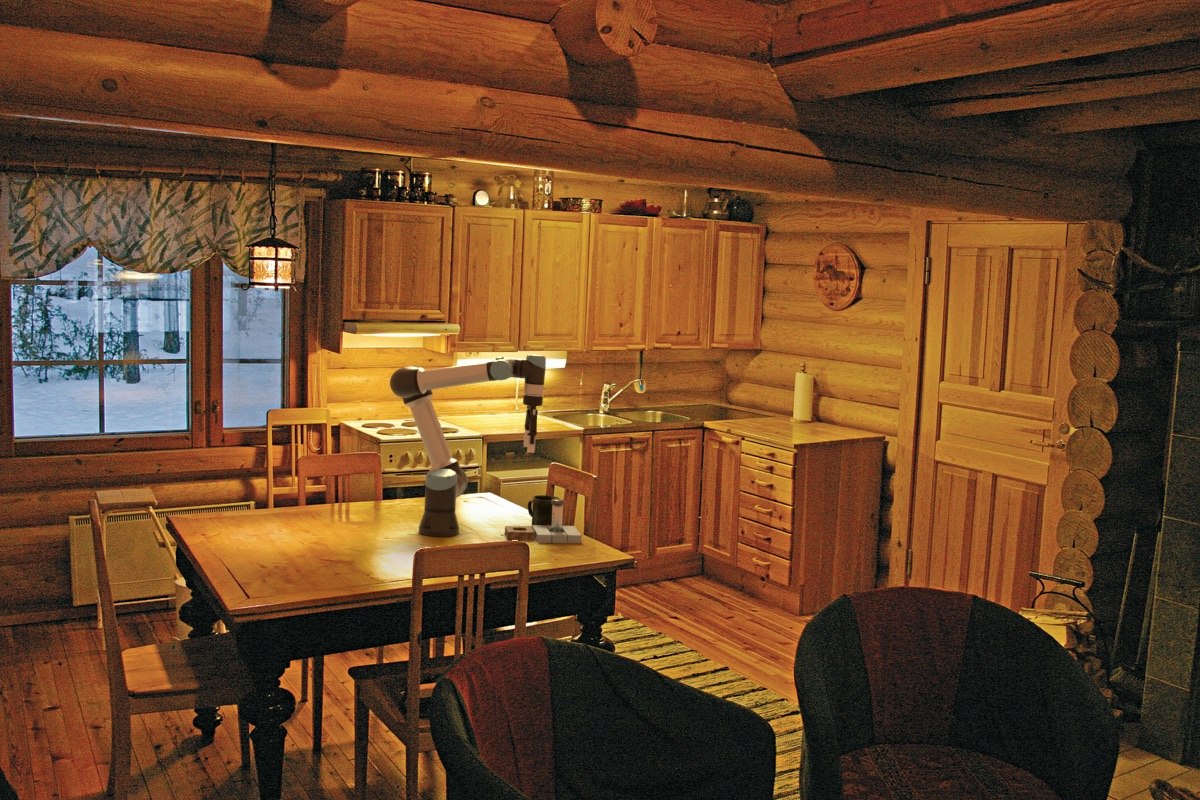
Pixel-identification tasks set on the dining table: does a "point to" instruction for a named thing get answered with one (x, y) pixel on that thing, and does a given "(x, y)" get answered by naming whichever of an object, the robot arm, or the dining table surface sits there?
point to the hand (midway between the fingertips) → (528, 449)
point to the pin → (557, 515)
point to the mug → (541, 509)
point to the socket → (556, 534)
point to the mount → (519, 532)
